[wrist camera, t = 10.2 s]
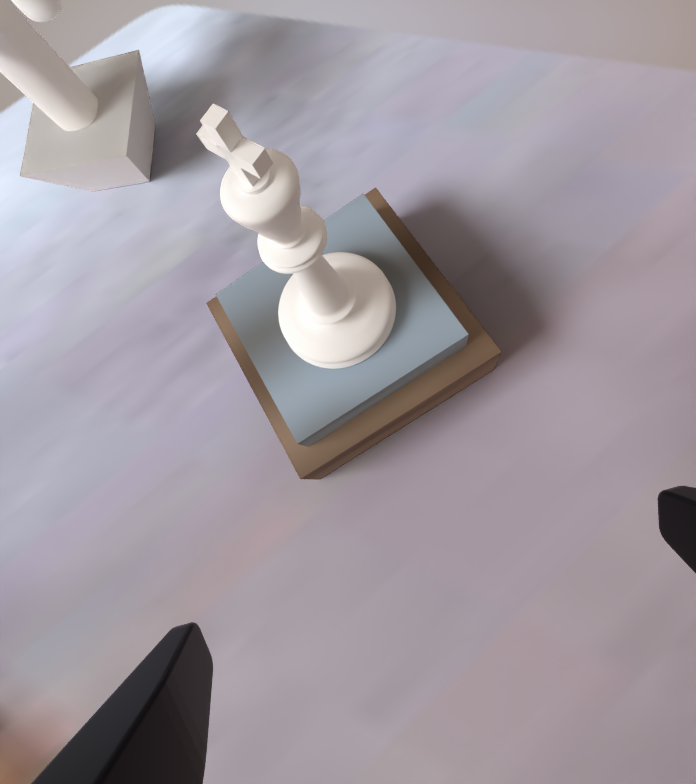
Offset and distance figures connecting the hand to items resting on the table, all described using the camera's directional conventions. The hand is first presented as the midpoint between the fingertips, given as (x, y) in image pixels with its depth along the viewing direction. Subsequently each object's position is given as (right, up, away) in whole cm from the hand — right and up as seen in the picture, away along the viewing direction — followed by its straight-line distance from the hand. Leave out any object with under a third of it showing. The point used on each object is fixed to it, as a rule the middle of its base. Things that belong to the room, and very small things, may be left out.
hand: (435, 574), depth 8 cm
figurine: (-17, +19, +21) cm, 33 cm away
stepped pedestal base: (-1, +6, +14) cm, 15 cm away
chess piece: (-2, +7, +10) cm, 12 cm away
